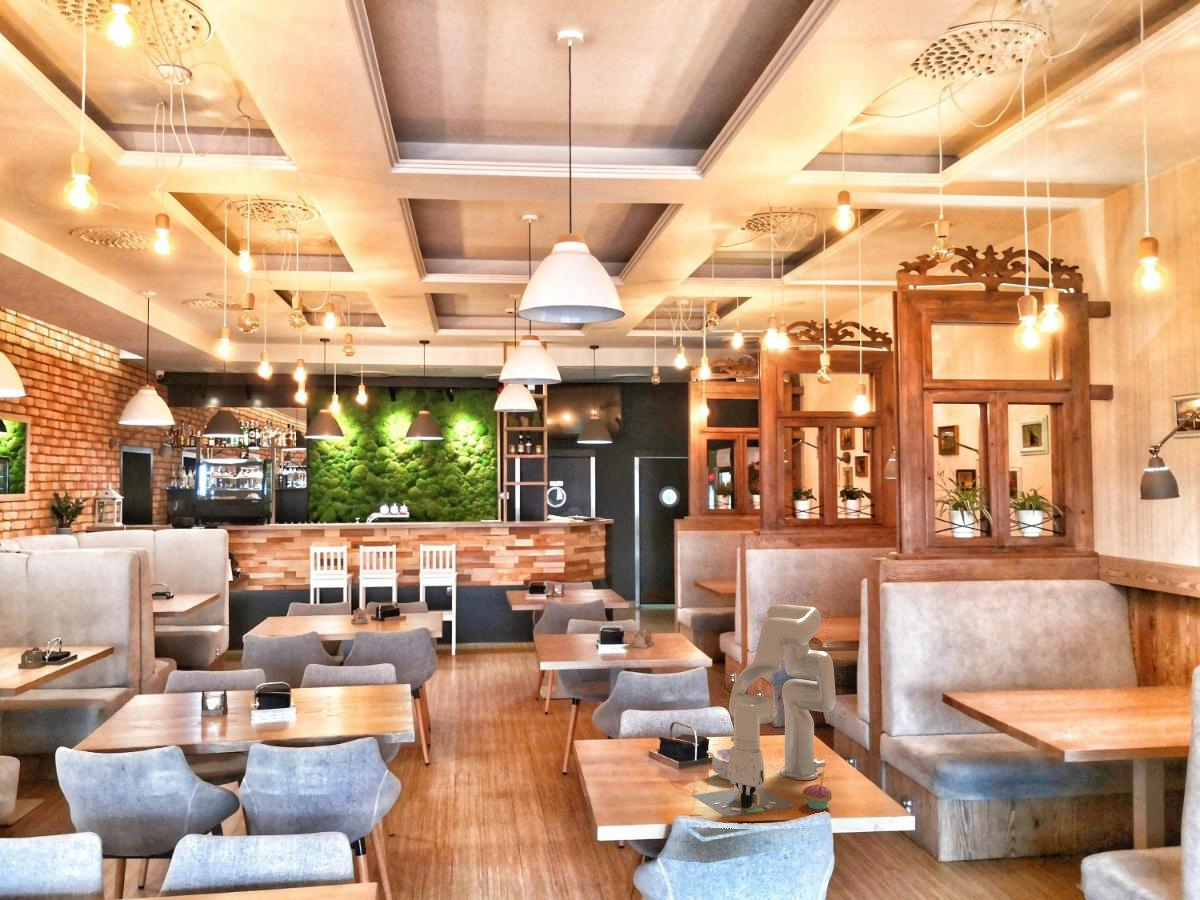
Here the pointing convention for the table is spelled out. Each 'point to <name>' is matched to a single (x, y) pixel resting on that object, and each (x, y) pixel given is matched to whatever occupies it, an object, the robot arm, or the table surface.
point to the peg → (754, 796)
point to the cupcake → (817, 795)
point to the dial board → (730, 807)
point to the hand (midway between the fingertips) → (746, 806)
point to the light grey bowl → (721, 762)
